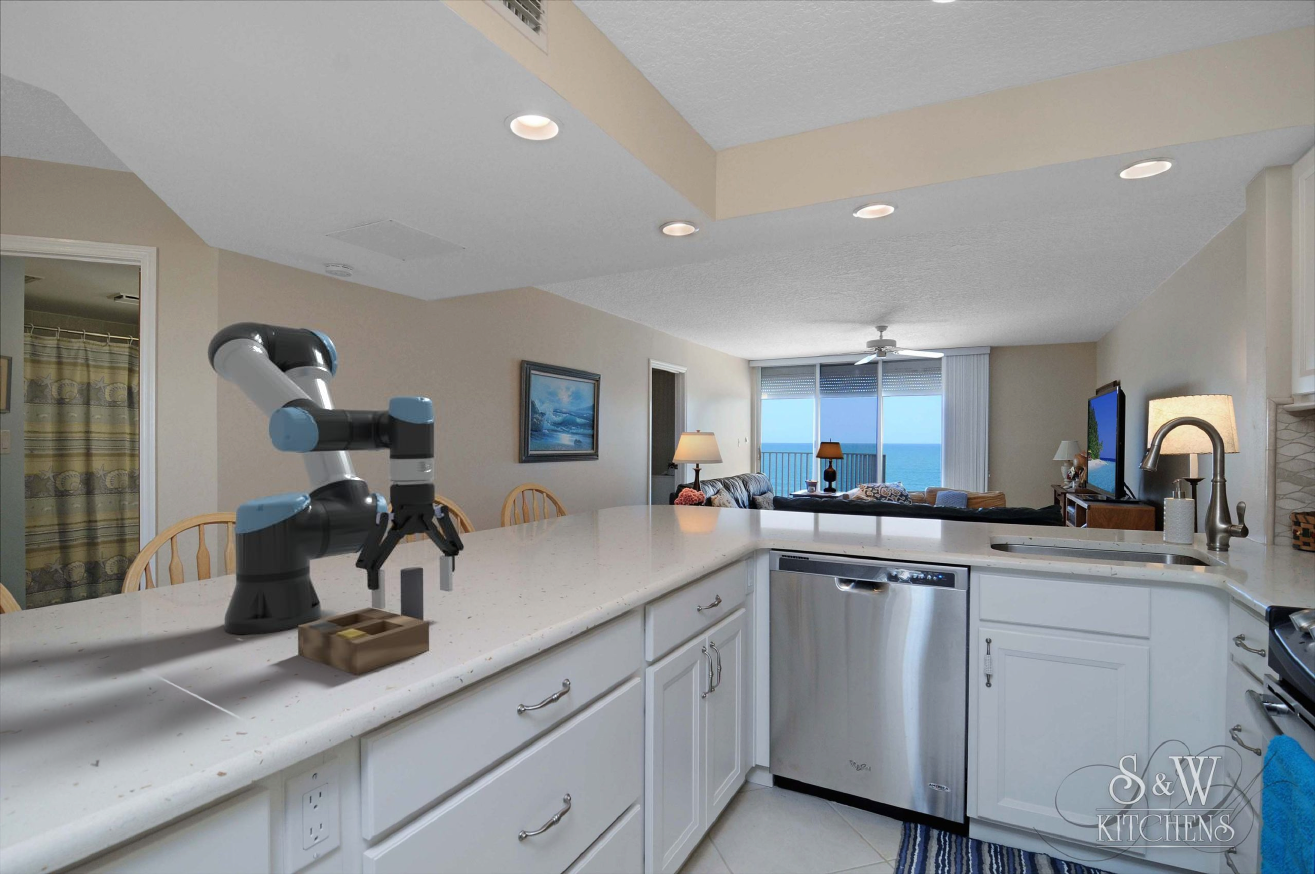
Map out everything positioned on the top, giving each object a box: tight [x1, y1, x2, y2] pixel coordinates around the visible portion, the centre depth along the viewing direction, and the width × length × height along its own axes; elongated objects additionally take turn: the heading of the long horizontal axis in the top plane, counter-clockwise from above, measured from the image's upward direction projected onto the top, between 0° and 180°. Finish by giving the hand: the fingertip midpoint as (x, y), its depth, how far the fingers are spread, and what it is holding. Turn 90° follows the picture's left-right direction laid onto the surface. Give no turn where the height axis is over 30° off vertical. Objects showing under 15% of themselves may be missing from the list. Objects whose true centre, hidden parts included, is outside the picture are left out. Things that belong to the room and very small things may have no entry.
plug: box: [399, 566, 425, 621], centre depth 111 cm, size 4×4×10 cm
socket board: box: [297, 607, 430, 676], centre depth 97 cm, size 16×12×5 cm
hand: (414, 600), depth 111 cm, fingers open, 13 cm apart
